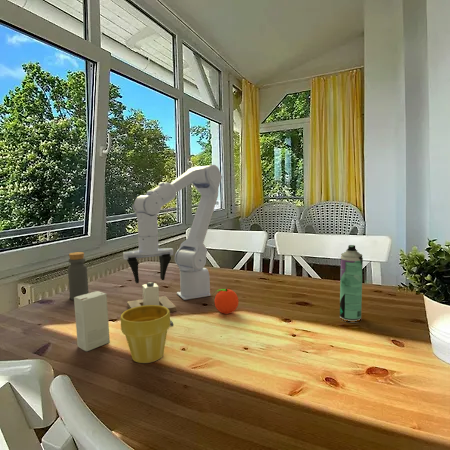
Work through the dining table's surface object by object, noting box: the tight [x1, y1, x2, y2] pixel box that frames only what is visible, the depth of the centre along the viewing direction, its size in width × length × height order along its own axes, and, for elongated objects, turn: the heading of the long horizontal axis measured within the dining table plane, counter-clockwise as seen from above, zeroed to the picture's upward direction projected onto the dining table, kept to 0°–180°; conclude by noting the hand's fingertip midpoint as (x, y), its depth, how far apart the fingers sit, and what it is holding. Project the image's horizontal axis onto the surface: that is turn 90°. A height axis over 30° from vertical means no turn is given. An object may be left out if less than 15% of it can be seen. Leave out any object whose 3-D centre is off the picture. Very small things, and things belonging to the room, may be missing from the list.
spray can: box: [339, 244, 364, 321], centre depth 95 cm, size 6×6×20 cm
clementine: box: [214, 288, 240, 315], centre depth 102 cm, size 8×7×7 cm
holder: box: [126, 295, 177, 313], centre depth 107 cm, size 12×12×1 cm
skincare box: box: [73, 290, 110, 352], centre depth 82 cm, size 6×4×12 cm
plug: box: [141, 281, 160, 306], centre depth 107 cm, size 4×4×8 cm
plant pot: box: [120, 305, 171, 364], centre depth 76 cm, size 10×10×10 cm
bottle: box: [67, 251, 89, 301], centre depth 118 cm, size 6×6×15 cm
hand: (149, 280), depth 106 cm, fingers open, 7 cm apart
